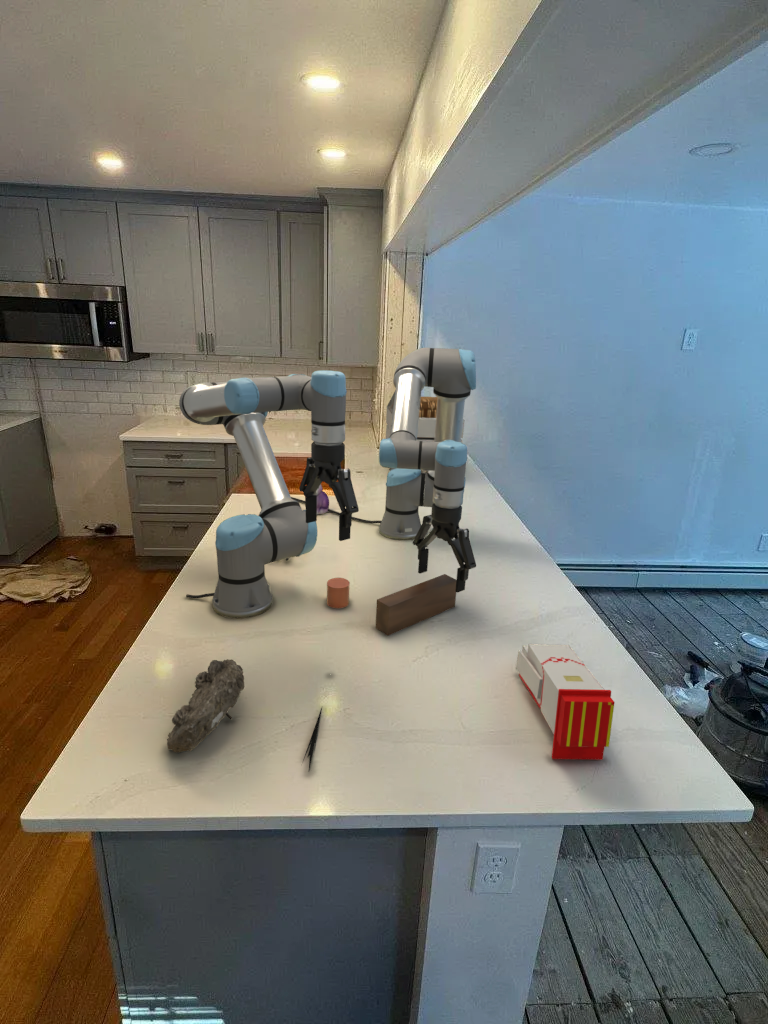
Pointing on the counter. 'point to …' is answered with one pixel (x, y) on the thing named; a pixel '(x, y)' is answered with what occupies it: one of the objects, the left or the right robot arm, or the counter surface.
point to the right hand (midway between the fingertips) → (440, 581)
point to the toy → (568, 700)
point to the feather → (313, 740)
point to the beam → (415, 604)
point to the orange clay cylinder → (338, 592)
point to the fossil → (206, 705)
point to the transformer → (420, 419)
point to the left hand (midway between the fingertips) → (327, 530)
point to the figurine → (322, 501)
